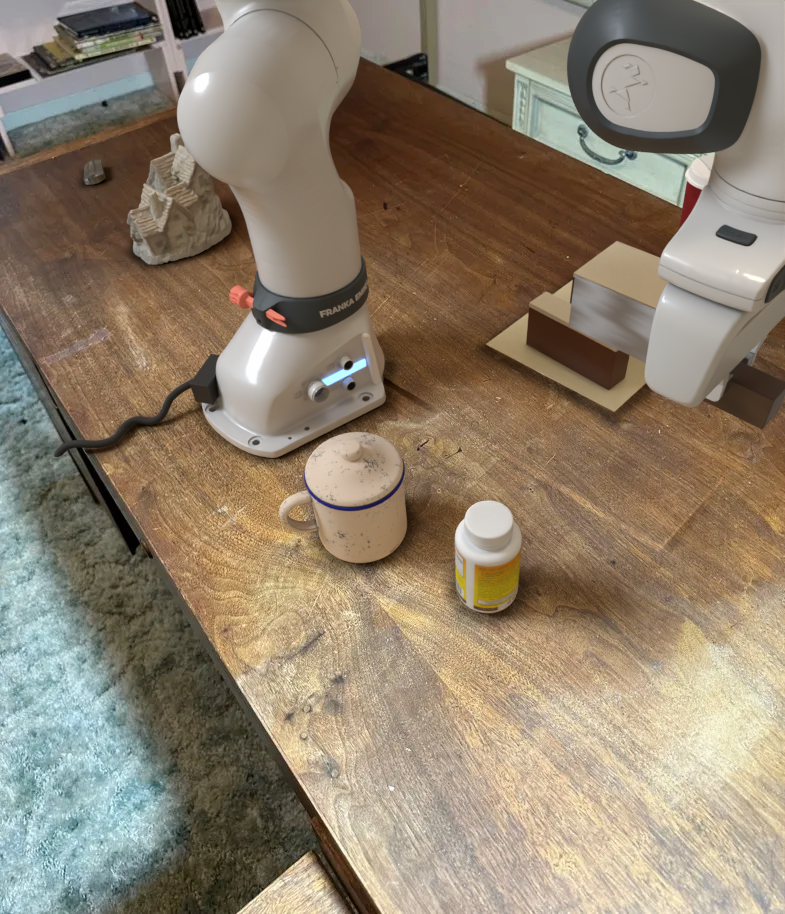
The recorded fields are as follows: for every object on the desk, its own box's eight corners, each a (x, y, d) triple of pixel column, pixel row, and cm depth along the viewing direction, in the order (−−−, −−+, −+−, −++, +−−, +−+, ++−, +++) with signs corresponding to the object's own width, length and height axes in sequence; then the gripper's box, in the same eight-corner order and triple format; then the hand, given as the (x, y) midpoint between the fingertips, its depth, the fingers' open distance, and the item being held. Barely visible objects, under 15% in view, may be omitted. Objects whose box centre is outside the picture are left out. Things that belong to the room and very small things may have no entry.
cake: (653, 354, 88) (663, 311, 84) (568, 314, 94) (573, 272, 90) (694, 318, 92) (706, 275, 88) (609, 282, 98) (616, 240, 94)
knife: (777, 413, 57) (799, 361, 54) (762, 430, 56) (783, 379, 53) (577, 318, 66) (584, 269, 63) (561, 331, 65) (567, 282, 62)
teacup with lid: (392, 483, 79) (384, 399, 70) (422, 550, 72) (417, 467, 64) (279, 516, 77) (256, 434, 68) (300, 588, 70) (278, 508, 62)
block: (104, 167, 133) (100, 157, 132) (107, 182, 129) (103, 172, 128) (83, 171, 133) (79, 161, 131) (85, 187, 129) (81, 176, 127)
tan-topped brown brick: (608, 390, 85) (616, 348, 80) (525, 344, 91) (529, 302, 87) (625, 377, 86) (634, 335, 81) (542, 332, 92) (546, 291, 88)
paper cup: (728, 286, 98) (759, 183, 88) (666, 283, 99) (689, 180, 89) (723, 253, 103) (752, 152, 93) (664, 250, 104) (685, 150, 94)
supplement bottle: (530, 586, 69) (538, 515, 62) (491, 627, 66) (495, 558, 59) (481, 553, 72) (483, 482, 64) (442, 592, 69) (440, 521, 62)
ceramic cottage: (204, 193, 124) (175, 101, 112) (248, 238, 114) (221, 143, 103) (114, 230, 120) (74, 139, 108) (152, 281, 110) (112, 186, 99)
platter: (613, 418, 83) (614, 411, 82) (485, 350, 92) (485, 344, 92) (720, 319, 93) (722, 312, 93) (596, 267, 103) (597, 261, 102)
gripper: (802, 138, 54) (750, 301, 64) (644, 266, 45) (612, 434, 55) (896, 162, 51) (826, 330, 61) (747, 306, 41) (693, 476, 51)
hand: (723, 380), depth 58 cm, fingers closed on knife, 2 cm apart
